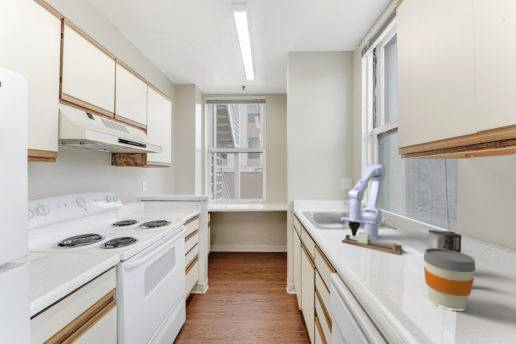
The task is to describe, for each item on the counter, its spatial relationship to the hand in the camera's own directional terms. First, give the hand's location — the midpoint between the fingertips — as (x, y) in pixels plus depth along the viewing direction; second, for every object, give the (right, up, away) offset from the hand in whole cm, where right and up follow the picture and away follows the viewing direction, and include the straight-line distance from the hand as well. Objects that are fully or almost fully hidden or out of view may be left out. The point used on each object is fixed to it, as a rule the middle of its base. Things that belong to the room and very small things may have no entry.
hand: (354, 235), depth 137 cm
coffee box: (+22, -6, -36) cm, 43 cm away
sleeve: (+4, -3, -3) cm, 6 cm away
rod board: (+7, -4, -6) cm, 10 cm away
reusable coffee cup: (+5, -5, -61) cm, 61 cm away
